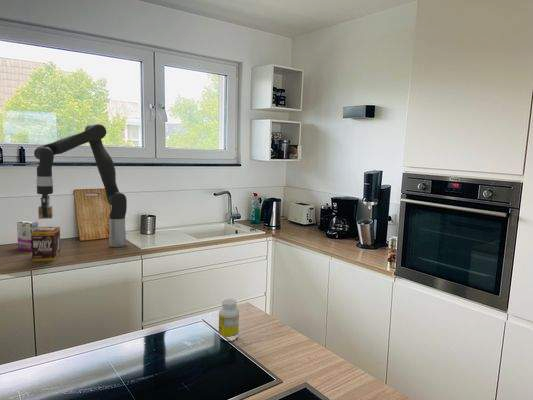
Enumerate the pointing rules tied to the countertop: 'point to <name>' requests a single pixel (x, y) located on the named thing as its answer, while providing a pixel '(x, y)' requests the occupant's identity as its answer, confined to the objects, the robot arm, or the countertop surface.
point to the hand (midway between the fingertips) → (45, 215)
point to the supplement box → (45, 243)
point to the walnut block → (47, 212)
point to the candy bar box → (25, 234)
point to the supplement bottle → (228, 318)
